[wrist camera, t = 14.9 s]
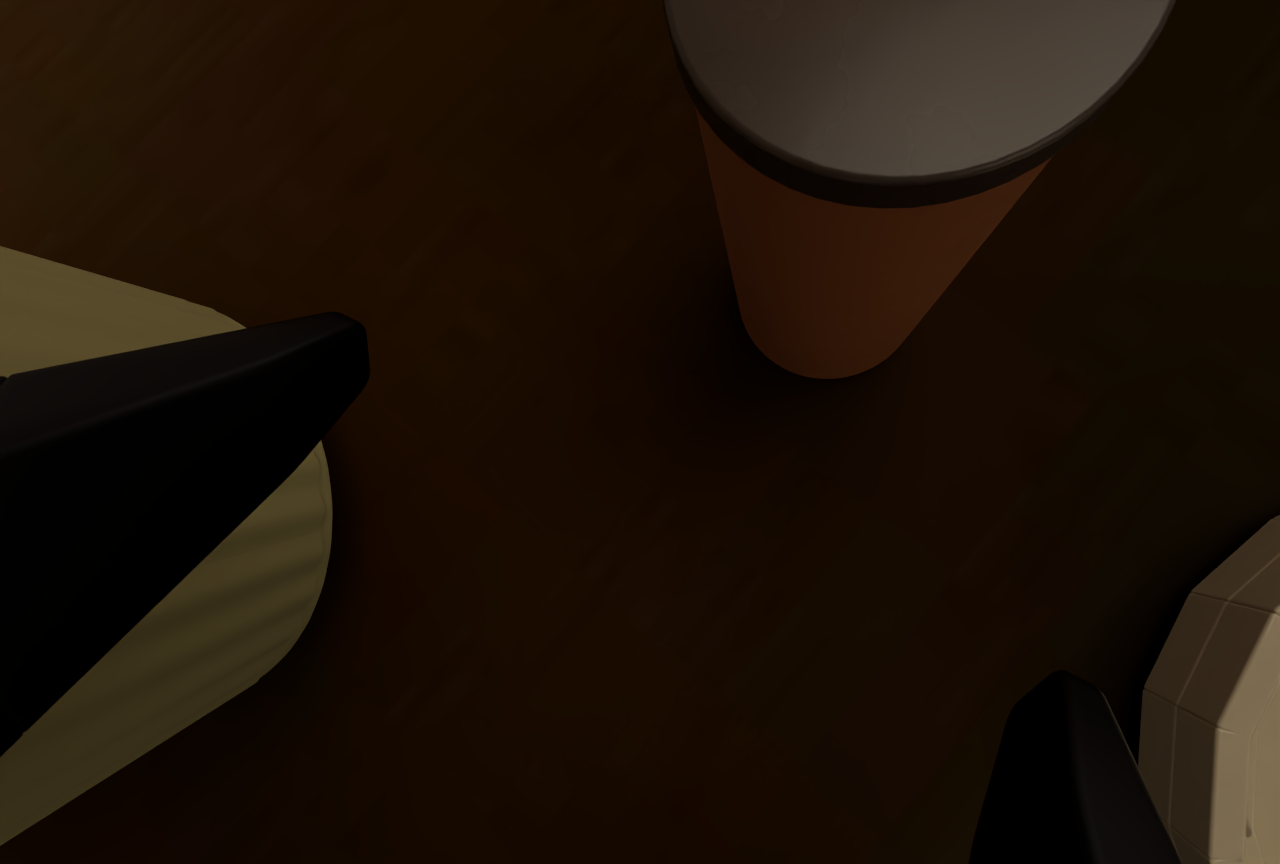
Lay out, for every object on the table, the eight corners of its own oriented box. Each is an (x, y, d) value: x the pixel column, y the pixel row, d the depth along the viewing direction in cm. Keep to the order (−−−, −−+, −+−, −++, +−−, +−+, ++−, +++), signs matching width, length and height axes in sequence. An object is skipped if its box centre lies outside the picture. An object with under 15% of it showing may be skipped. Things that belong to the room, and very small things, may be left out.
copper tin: (781, 413, 19) (782, 272, 7) (705, 252, 20) (586, -134, 8) (958, 333, 19) (1305, 21, 6) (874, 170, 19) (1037, -396, 7)
